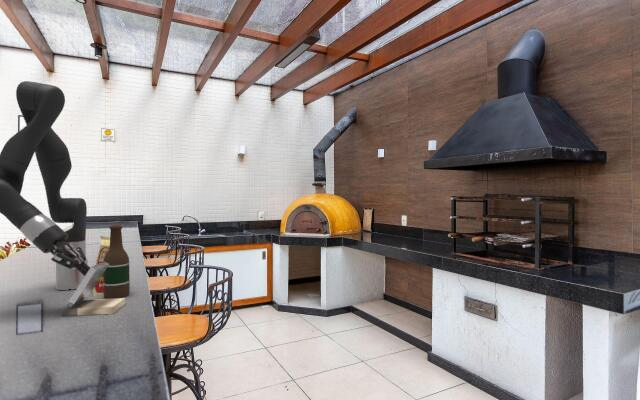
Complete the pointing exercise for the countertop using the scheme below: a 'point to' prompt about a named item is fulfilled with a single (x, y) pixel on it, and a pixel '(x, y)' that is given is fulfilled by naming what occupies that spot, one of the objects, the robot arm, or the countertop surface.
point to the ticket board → (94, 307)
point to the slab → (88, 283)
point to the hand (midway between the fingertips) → (90, 274)
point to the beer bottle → (116, 267)
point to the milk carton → (102, 251)
